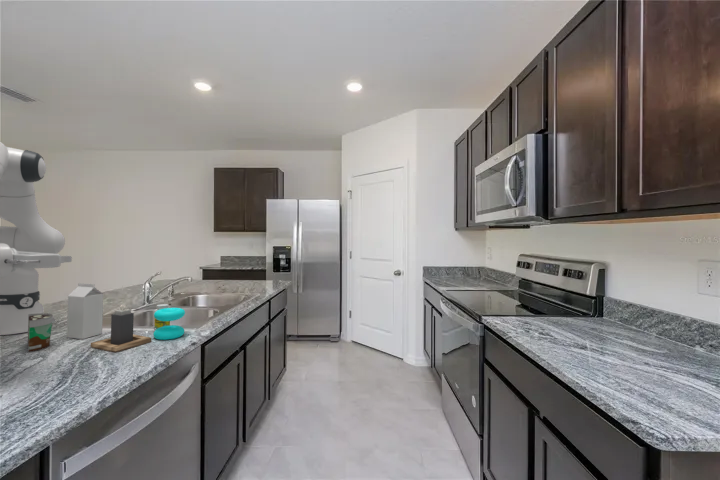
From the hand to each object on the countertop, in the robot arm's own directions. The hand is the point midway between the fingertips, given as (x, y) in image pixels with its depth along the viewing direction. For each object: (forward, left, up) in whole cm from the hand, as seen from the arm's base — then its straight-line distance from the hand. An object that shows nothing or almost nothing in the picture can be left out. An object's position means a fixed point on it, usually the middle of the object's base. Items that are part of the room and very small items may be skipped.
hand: (59, 258), depth 97 cm
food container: (-17, +4, -30) cm, 35 cm away
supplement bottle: (-1, +35, -30) cm, 46 cm away
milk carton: (-17, +17, -30) cm, 39 cm away
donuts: (+10, +29, -30) cm, 43 cm away
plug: (+4, +16, -29) cm, 34 cm away
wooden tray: (+4, +16, -30) cm, 34 cm away
